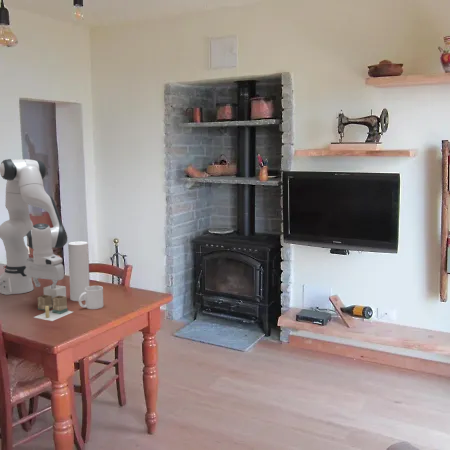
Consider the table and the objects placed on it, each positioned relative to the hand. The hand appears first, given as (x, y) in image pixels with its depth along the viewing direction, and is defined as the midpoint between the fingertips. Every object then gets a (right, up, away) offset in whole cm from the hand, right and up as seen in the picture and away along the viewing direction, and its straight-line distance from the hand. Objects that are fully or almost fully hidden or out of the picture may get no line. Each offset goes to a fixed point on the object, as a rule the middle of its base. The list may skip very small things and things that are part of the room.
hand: (45, 287), depth 243 cm
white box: (+1, -10, +11) cm, 14 cm away
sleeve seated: (+8, -11, -3) cm, 14 cm away
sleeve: (-1, -11, +2) cm, 11 cm away
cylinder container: (+11, -9, +18) cm, 23 cm away
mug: (+20, -11, +4) cm, 23 cm away
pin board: (+6, -13, -7) cm, 16 cm away
